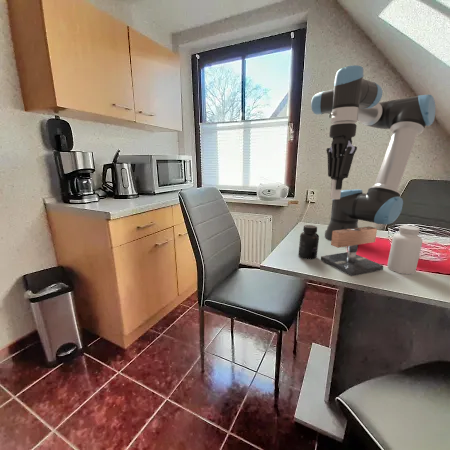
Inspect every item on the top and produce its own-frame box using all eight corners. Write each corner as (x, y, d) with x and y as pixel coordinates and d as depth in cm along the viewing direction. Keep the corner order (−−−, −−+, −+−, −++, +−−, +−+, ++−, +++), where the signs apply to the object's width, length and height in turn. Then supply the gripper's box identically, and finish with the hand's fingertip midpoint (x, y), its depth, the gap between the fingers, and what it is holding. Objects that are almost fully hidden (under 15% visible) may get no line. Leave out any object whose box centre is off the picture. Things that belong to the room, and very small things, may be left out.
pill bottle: (403, 276, 79) (412, 231, 75) (381, 266, 86) (388, 225, 82) (421, 273, 81) (431, 229, 77) (398, 263, 88) (406, 223, 84)
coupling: (330, 252, 84) (332, 230, 82) (366, 246, 90) (369, 226, 88) (336, 255, 82) (339, 233, 80) (373, 248, 87) (377, 228, 85)
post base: (349, 255, 96) (351, 243, 95) (382, 269, 83) (385, 256, 82) (320, 260, 91) (322, 247, 90) (351, 276, 79) (353, 261, 77)
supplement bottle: (318, 260, 91) (321, 229, 88) (299, 259, 92) (301, 228, 89) (315, 253, 97) (318, 224, 94) (297, 252, 99) (300, 223, 96)
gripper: (321, 126, 82) (315, 196, 89) (345, 120, 70) (335, 202, 76) (342, 126, 83) (334, 195, 90) (369, 121, 71) (357, 201, 77)
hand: (334, 198), depth 83 cm, fingers closed
